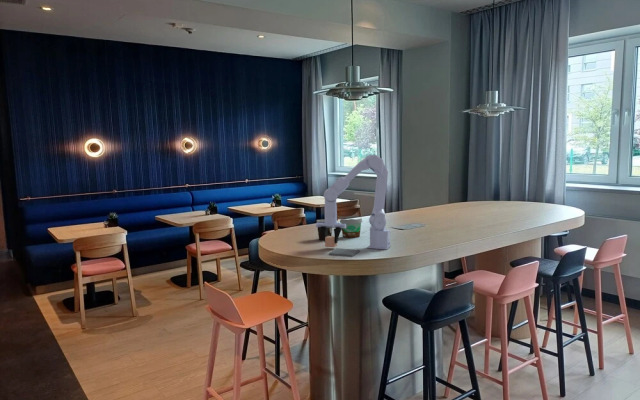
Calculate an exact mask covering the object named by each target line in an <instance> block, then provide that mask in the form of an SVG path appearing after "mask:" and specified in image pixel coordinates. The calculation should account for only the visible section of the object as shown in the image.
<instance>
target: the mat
mask: <svg viewBox="0 0 640 400" xmlns="http://www.w3.org/2000/svg"><path fill="white" fill-rule="evenodd" d="M360 252H361V250H360V249H355V248H354V249H353V248H338V247H337V248H334V250H331V251H330V252H329V253H328V255H329V256H339V257H342V256H343V257H354V256H356V255H357V254H359V253H360Z"/></svg>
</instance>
